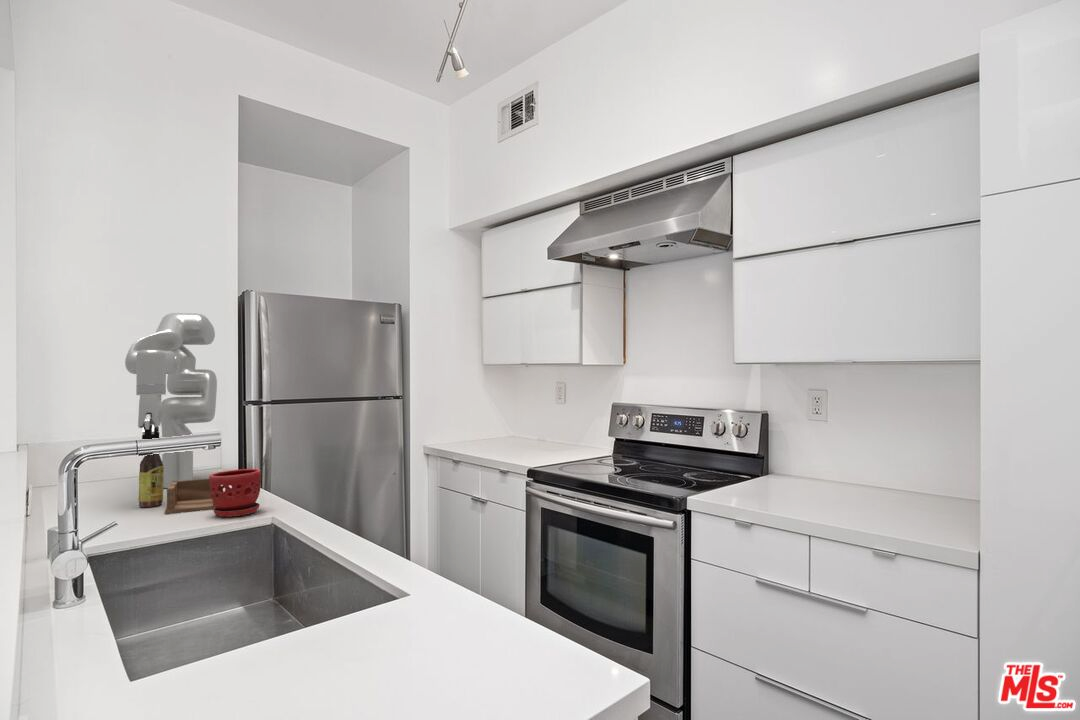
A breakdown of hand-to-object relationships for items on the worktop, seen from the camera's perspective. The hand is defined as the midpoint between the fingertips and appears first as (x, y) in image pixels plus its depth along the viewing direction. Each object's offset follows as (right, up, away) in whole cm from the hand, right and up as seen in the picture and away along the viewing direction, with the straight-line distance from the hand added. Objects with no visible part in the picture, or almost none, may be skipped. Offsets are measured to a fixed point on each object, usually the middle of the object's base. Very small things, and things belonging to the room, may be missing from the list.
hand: (150, 446), depth 178 cm
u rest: (+14, -18, -2) cm, 23 cm away
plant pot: (+31, -18, -11) cm, 38 cm away
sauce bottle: (0, -18, 0) cm, 18 cm away
